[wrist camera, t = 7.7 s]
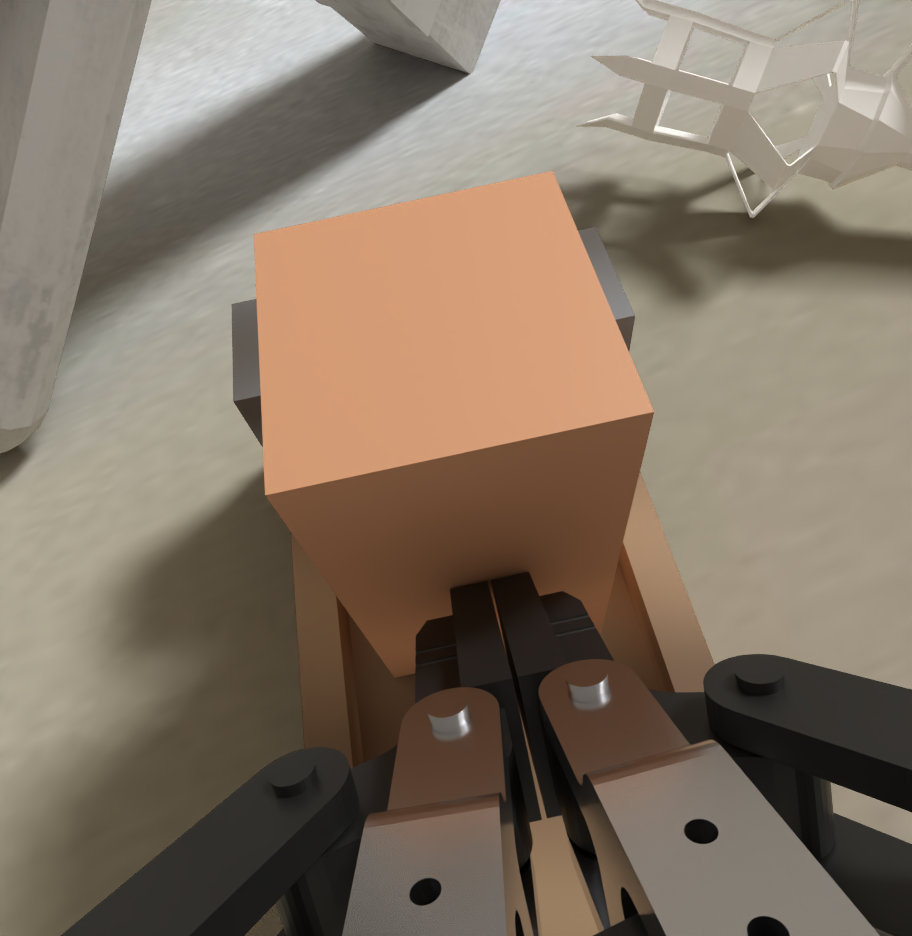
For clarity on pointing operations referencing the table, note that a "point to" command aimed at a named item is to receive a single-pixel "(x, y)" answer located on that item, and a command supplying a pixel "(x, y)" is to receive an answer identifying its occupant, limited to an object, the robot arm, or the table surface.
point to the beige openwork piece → (763, 68)
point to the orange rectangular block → (446, 404)
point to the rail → (629, 642)
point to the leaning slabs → (91, 147)
